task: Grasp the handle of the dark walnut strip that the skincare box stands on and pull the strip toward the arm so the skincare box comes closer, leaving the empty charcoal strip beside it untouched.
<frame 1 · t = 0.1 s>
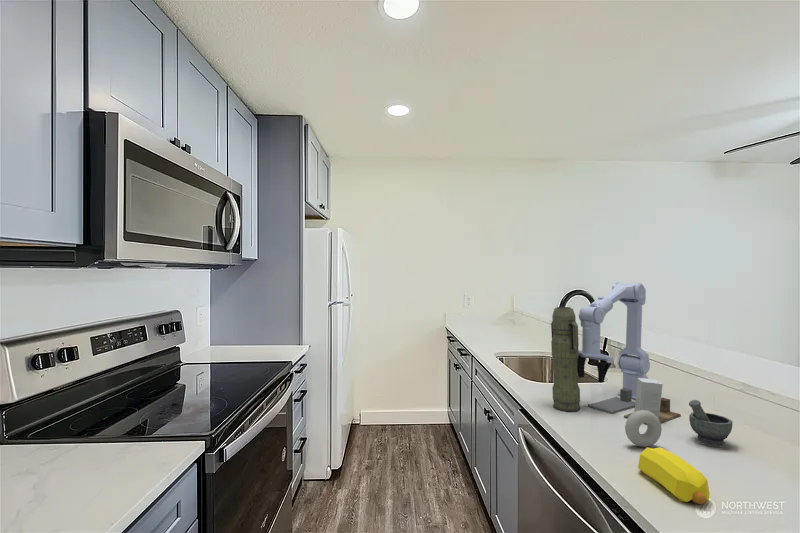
hand: (591, 379, 146), 10 cm above the counter, tool pointing down, fingers open, 7 cm apart
donut: (643, 447, 114), on the counter
yellow banana: (671, 487, 93), on the counter
thermos: (566, 407, 146), on the counter
charcoal strip: (614, 399, 149), point 2 cm above the counter, slide at 0.0 cm
walnut strip: (652, 409, 138), point 2 cm above the counter, slide at 0.0 cm, touching skincare box
mortar and pestle: (708, 443, 117), on the counter
skincare box: (645, 417, 135), point 1 cm above the counter, touching walnut strip
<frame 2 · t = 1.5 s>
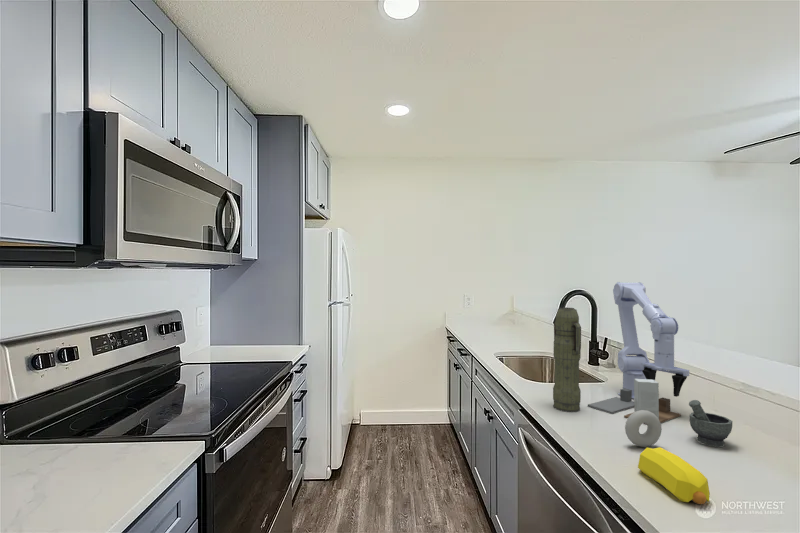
hand: (664, 393, 142), 7 cm above the counter, tool pointing down, fingers open, 7 cm apart
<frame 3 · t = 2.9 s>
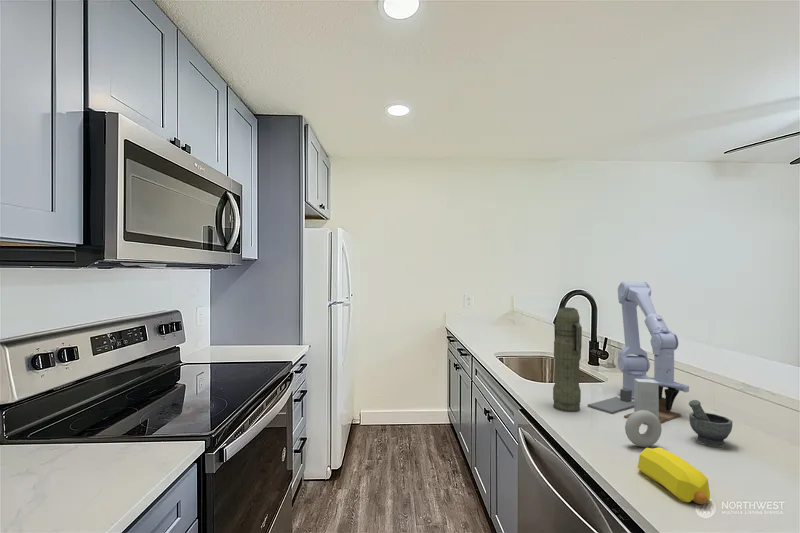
hand: (663, 408, 142), 2 cm above the counter, tool pointing down, fingers closed on walnut strip, 2 cm apart
walnut strip: (652, 409, 138), point 2 cm above the counter, slide at 0.1 cm, touching gripper, skincare box
everything else where it was.
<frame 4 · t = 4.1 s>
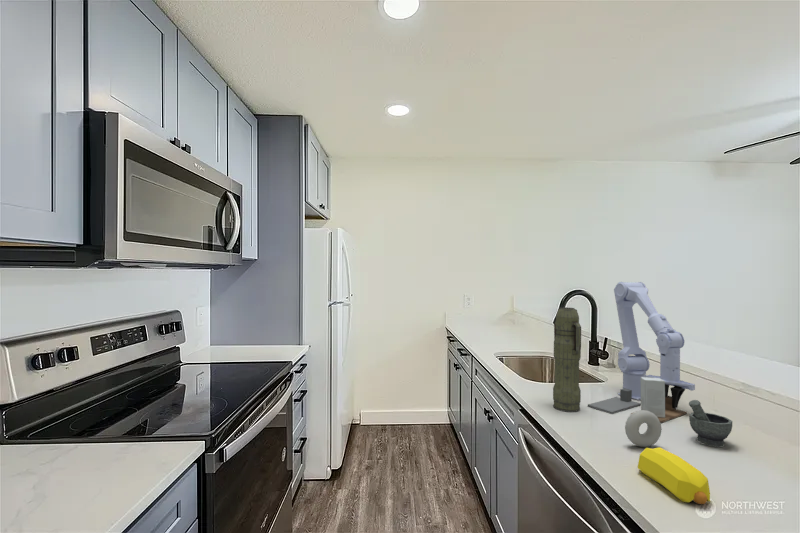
hand: (669, 406, 144), 2 cm above the counter, tool pointing down, fingers closed on walnut strip, 2 cm apart
walnut strip: (658, 407, 140), point 2 cm above the counter, slide at 4.2 cm, touching gripper, skincare box
skincare box: (652, 415, 137), point 1 cm above the counter, touching walnut strip
everything else where it was.
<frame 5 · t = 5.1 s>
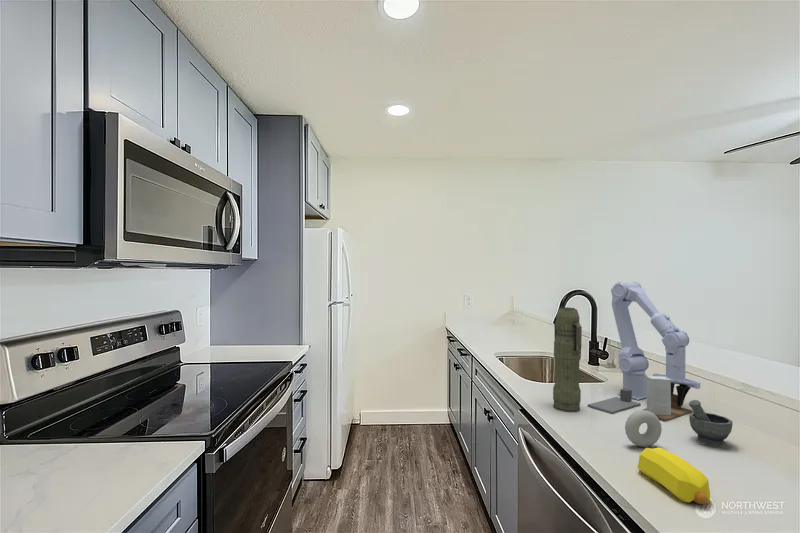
hand: (675, 404, 146), 2 cm above the counter, tool pointing down, fingers closed on walnut strip, 2 cm apart
walnut strip: (664, 405, 142), point 2 cm above the counter, slide at 7.9 cm, touching gripper, skincare box
skincare box: (658, 413, 139), resting on walnut strip
everything else where it was.
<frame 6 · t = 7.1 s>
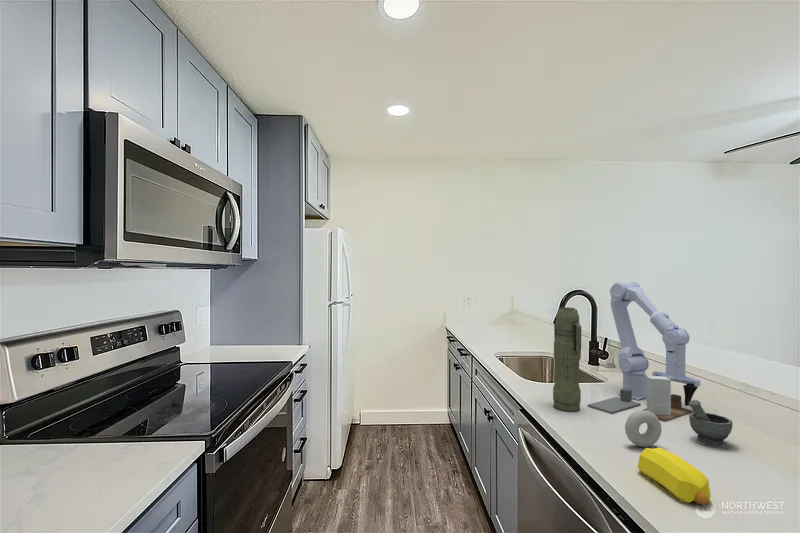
hand: (675, 402, 146), 2 cm above the counter, tool pointing down, fingers open, 7 cm apart
walnut strip: (664, 405, 142), point 2 cm above the counter, slide at 8.0 cm, touching skincare box
everything else where it was.
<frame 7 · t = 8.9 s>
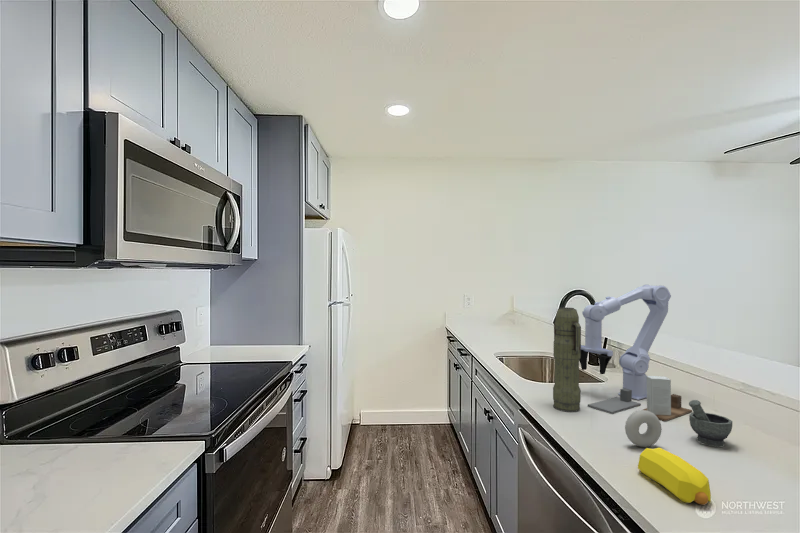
hand: (593, 371, 160), 9 cm above the counter, tool pointing down, fingers open, 7 cm apart
nothing on the counter moved.
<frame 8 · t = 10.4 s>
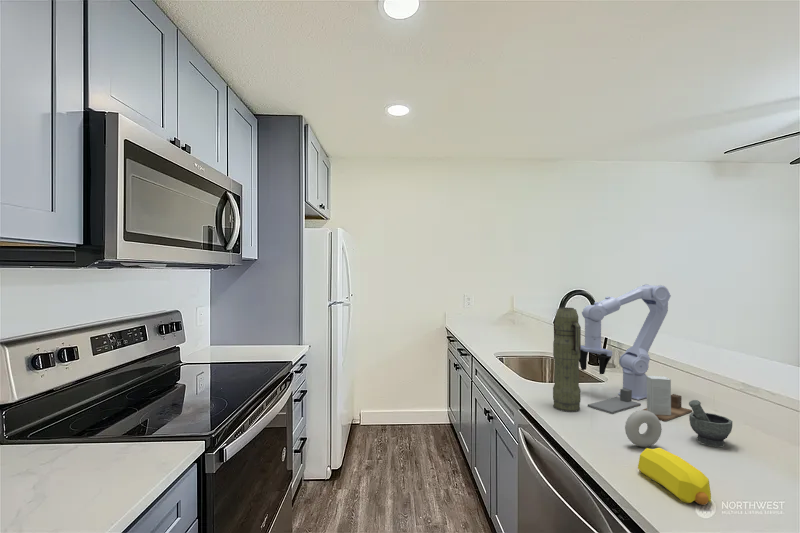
hand: (592, 371, 160), 9 cm above the counter, tool pointing down, fingers open, 7 cm apart
nothing on the counter moved.
at the end: skincare box inside the target area (0.4 cm from its centre), point 0.5 cm above the counter; skincare box tilted 0°; walnut strip slide at 8.0 cm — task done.
